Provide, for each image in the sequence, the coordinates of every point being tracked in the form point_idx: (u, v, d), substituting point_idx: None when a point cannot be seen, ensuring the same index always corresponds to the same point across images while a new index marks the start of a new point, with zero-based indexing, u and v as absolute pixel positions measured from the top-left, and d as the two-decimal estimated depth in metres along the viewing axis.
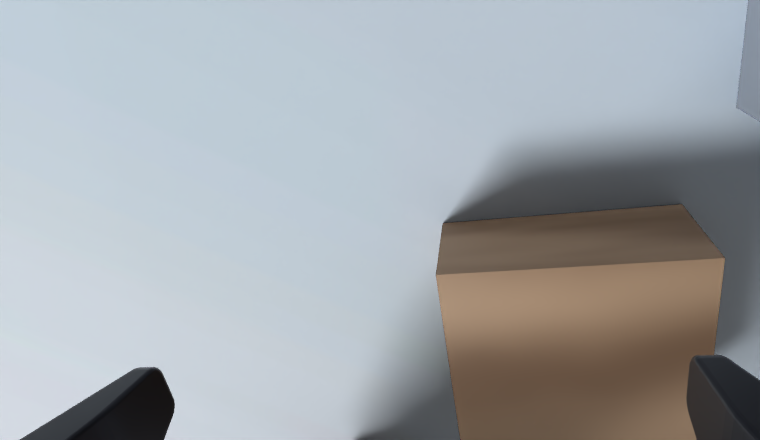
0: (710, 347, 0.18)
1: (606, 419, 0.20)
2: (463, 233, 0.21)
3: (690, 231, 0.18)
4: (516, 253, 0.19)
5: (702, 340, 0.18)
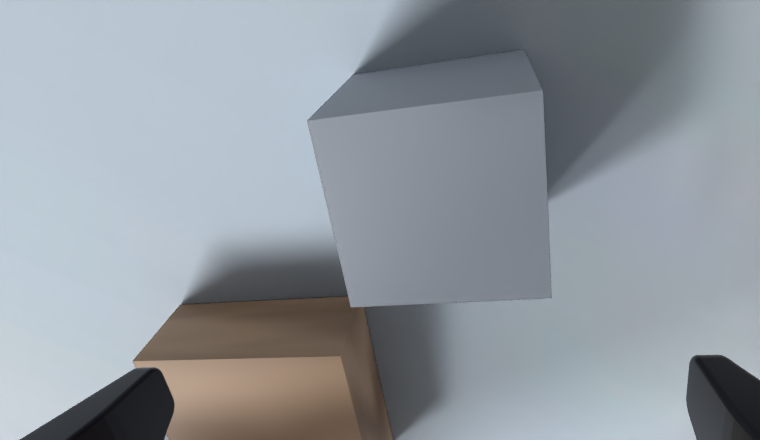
0: (354, 424, 0.22)
1: None
2: (186, 317, 0.25)
3: (342, 326, 0.22)
4: (205, 341, 0.22)
5: (346, 418, 0.22)
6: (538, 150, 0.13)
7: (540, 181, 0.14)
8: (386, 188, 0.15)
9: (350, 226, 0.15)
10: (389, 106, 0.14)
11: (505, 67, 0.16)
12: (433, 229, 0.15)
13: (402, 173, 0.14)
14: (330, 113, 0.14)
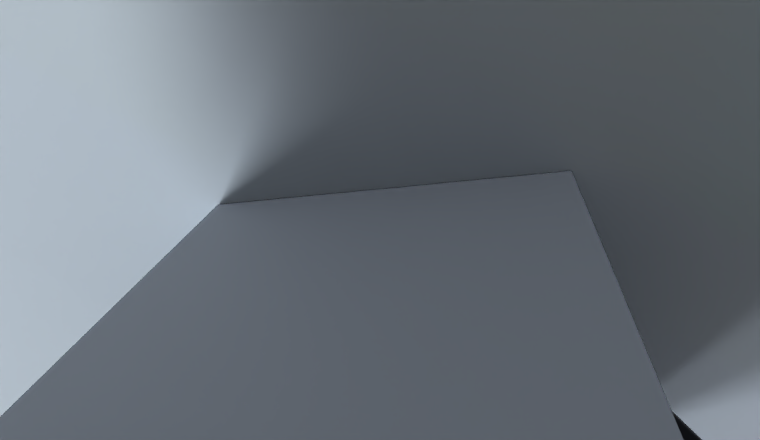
0: None
1: None
2: None
3: None
4: None
5: None
6: None
7: None
8: None
9: None
10: None
11: (538, 263, 0.06)
12: None
13: None
14: None
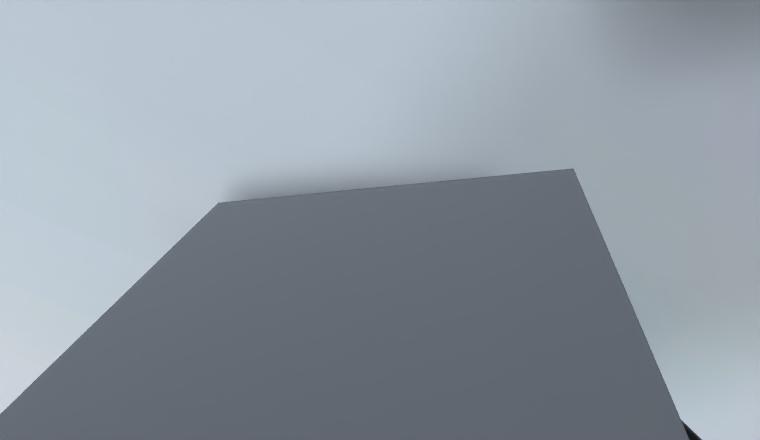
0: None
1: None
2: None
3: None
4: None
5: None
6: None
7: None
8: None
9: None
10: None
11: (541, 261, 0.06)
12: None
13: None
14: None
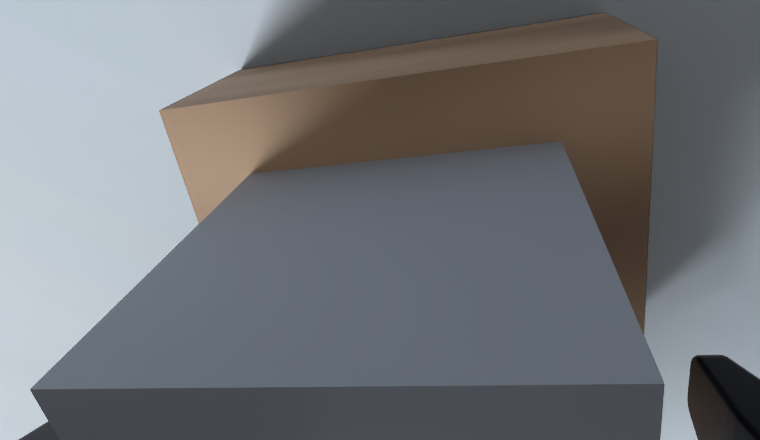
0: (641, 232, 0.10)
1: None
2: (256, 73, 0.13)
3: (607, 27, 0.10)
4: (309, 78, 0.11)
5: (626, 219, 0.10)
6: None
7: None
8: None
9: None
10: (240, 355, 0.05)
11: (531, 209, 0.07)
12: None
13: None
14: (104, 355, 0.06)
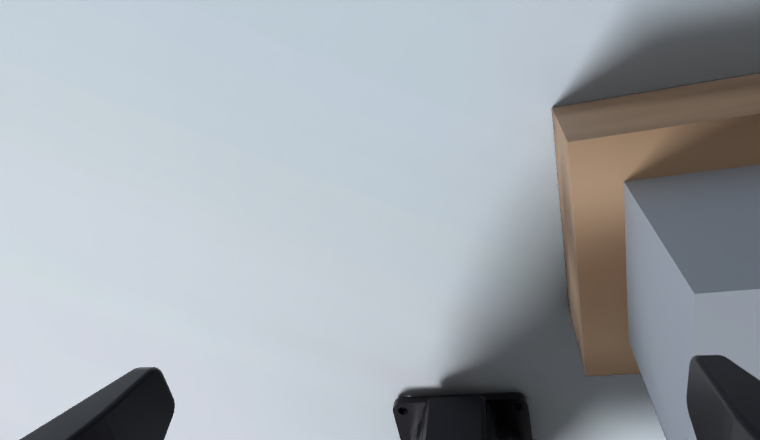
0: None
1: None
2: (582, 111, 0.18)
3: None
4: (659, 116, 0.16)
5: None
6: None
7: None
8: None
9: None
10: None
11: None
12: None
13: None
14: (712, 278, 0.11)
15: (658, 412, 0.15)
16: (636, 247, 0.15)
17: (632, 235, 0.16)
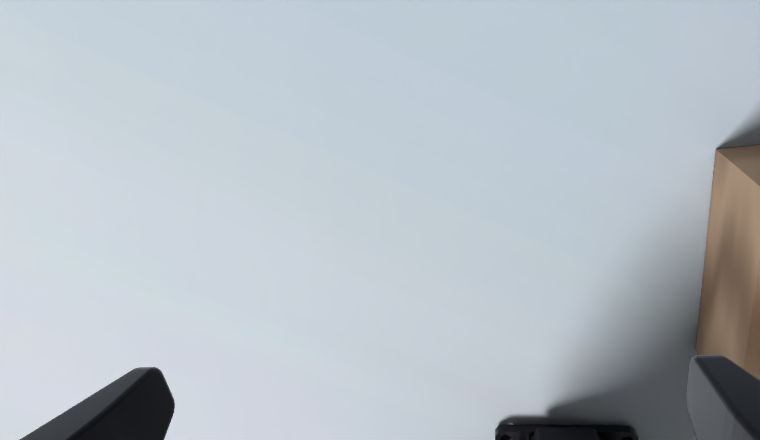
0: None
1: None
2: (757, 156, 0.18)
3: None
4: None
5: None
6: None
7: None
8: None
9: None
10: None
11: None
12: None
13: None
14: None
15: None
16: None
17: None
